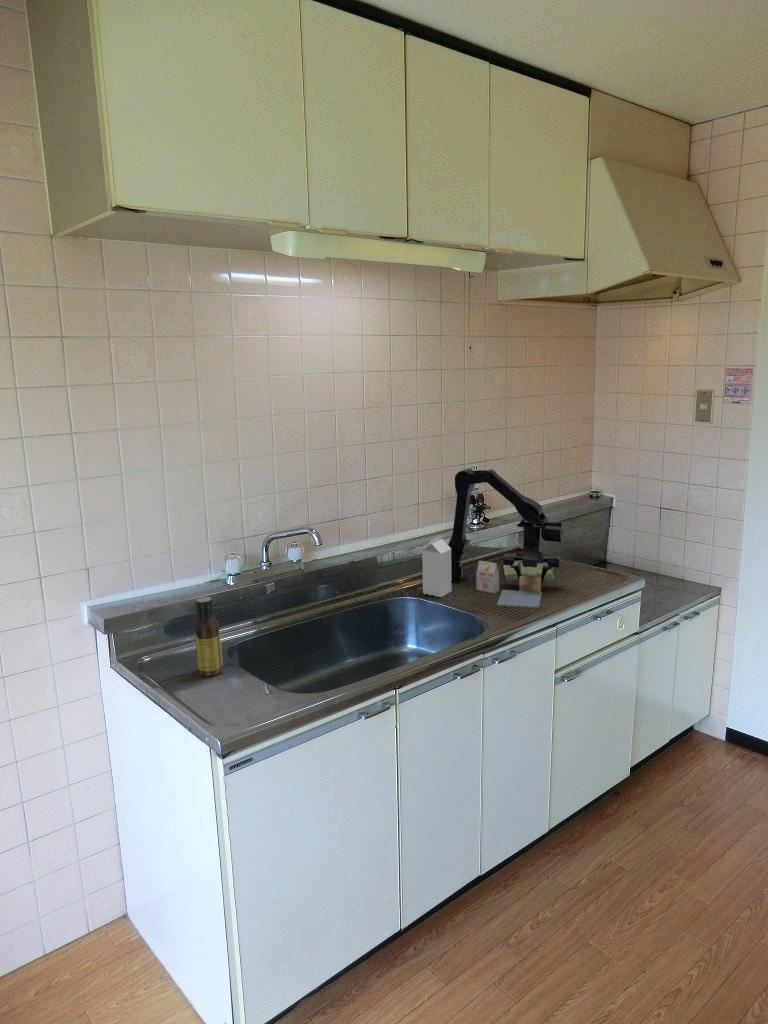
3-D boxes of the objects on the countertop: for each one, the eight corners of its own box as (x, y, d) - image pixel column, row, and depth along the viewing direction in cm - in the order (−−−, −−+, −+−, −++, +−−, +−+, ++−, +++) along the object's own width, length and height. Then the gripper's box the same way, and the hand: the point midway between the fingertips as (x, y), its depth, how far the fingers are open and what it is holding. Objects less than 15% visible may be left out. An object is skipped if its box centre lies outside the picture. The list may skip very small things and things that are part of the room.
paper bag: (481, 587, 250) (481, 559, 248) (499, 590, 246) (499, 562, 244) (476, 590, 247) (475, 561, 245) (493, 593, 243) (493, 564, 241)
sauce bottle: (207, 666, 191) (201, 593, 187) (228, 669, 189) (222, 595, 185) (192, 676, 185) (186, 601, 181) (213, 679, 183) (207, 603, 179)
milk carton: (451, 591, 246) (451, 537, 242) (441, 597, 240) (440, 541, 237) (433, 588, 250) (432, 534, 246) (422, 594, 244) (421, 539, 240)
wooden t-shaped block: (519, 591, 245) (519, 577, 244) (522, 581, 255) (522, 568, 254) (540, 592, 243) (540, 578, 242) (542, 582, 253) (543, 569, 252)
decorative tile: (505, 581, 257) (505, 572, 257) (501, 566, 277) (502, 556, 276) (559, 582, 255) (559, 572, 255) (552, 566, 275) (552, 556, 274)
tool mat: (496, 606, 231) (496, 604, 231) (502, 591, 245) (502, 589, 245) (538, 608, 227) (538, 606, 227) (541, 593, 241) (541, 592, 241)
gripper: (500, 544, 240) (500, 590, 243) (559, 547, 235) (558, 593, 238) (504, 536, 250) (504, 580, 253) (560, 538, 245) (559, 583, 248)
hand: (531, 584), depth 248 cm, fingers open, 6 cm apart
